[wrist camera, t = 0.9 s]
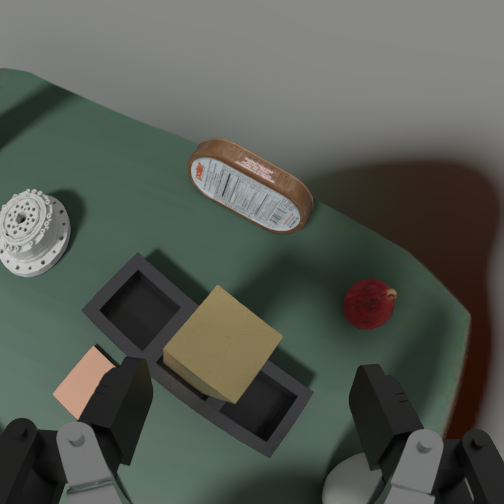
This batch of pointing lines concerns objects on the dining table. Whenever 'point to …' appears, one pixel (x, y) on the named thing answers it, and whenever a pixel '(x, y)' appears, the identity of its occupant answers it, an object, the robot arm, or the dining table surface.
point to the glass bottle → (353, 482)
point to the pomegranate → (369, 303)
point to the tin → (250, 186)
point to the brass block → (221, 347)
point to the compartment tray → (151, 348)
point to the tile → (82, 381)
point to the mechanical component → (33, 233)
